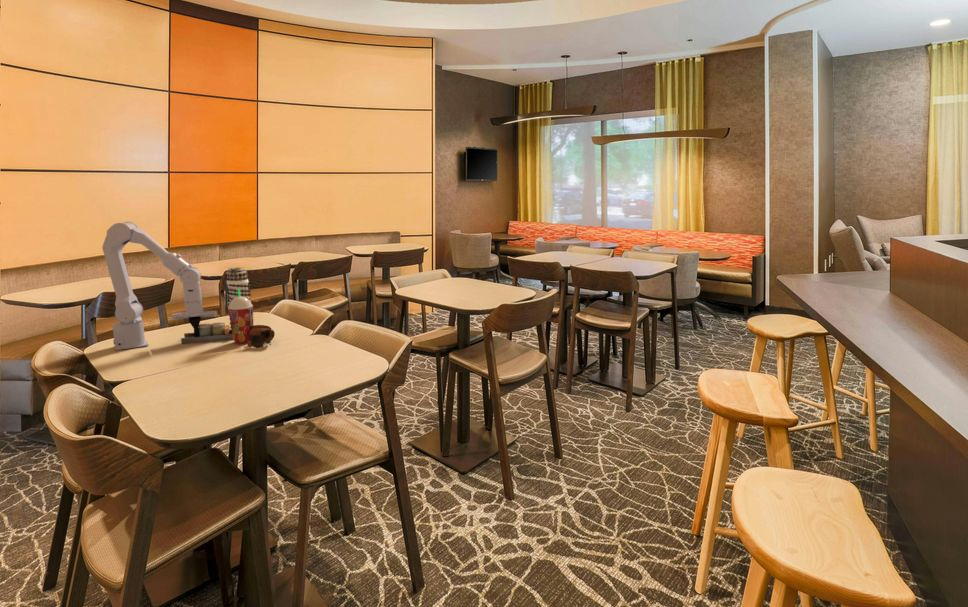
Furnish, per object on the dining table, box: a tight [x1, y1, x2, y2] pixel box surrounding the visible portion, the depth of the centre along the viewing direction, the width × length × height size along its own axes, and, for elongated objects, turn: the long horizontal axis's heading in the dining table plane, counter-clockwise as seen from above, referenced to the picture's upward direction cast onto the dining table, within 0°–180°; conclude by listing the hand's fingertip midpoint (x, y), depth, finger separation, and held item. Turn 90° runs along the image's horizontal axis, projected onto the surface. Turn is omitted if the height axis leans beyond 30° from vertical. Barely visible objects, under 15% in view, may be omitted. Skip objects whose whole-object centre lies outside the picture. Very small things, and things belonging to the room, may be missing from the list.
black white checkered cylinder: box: [225, 267, 252, 330], centre depth 213 cm, size 9×9×25 cm
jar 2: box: [211, 322, 226, 335], centre depth 201 cm, size 4×4×5 cm
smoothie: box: [227, 289, 254, 345], centre depth 194 cm, size 8×8×20 cm
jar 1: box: [199, 323, 213, 337], centre depth 200 cm, size 4×4×5 cm
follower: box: [224, 324, 231, 334], centre depth 202 cm, size 1×6×4 cm, turn 21°
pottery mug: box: [247, 324, 276, 348], centre depth 194 cm, size 12×10×8 cm
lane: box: [180, 328, 234, 345], centre depth 200 cm, size 18×8×4 cm, turn 111°
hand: (197, 336), depth 199 cm, fingers closed, pressing on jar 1
